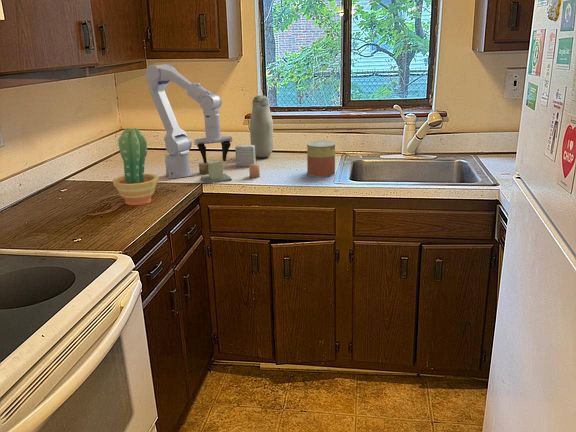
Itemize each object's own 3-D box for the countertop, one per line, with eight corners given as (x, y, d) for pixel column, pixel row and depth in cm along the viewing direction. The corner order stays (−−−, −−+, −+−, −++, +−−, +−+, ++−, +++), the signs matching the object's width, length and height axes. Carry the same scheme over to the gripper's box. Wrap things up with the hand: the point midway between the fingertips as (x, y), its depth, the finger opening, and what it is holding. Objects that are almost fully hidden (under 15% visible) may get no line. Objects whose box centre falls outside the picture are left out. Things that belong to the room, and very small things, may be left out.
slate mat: (206, 183, 203) (206, 181, 203) (200, 178, 211) (200, 176, 211) (231, 180, 207) (231, 178, 206) (225, 175, 214) (225, 173, 214)
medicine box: (255, 164, 232) (255, 144, 229) (254, 166, 228) (253, 146, 225) (238, 164, 233) (237, 144, 230) (236, 166, 228) (235, 146, 225)
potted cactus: (165, 194, 191) (158, 124, 182) (155, 207, 176) (147, 132, 168) (122, 195, 191) (113, 125, 183) (109, 208, 176) (98, 133, 168)
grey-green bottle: (247, 158, 244) (244, 96, 235) (261, 154, 251) (259, 93, 242) (263, 160, 238) (261, 97, 229) (277, 156, 246) (276, 94, 237)
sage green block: (211, 179, 206) (210, 164, 204) (209, 176, 210) (208, 162, 208) (223, 178, 207) (222, 163, 205) (220, 175, 211) (219, 160, 209)
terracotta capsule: (251, 178, 209) (251, 166, 207) (248, 176, 212) (247, 164, 211) (261, 177, 210) (260, 165, 209) (257, 175, 214) (257, 163, 212)
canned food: (339, 175, 211) (339, 145, 207) (312, 177, 208) (312, 147, 204) (329, 168, 221) (329, 140, 217) (303, 171, 218) (303, 142, 214)
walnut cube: (204, 175, 216) (203, 165, 215) (199, 173, 219) (198, 163, 218) (212, 173, 218) (212, 163, 217) (208, 171, 222) (207, 162, 220)
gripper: (196, 129, 196) (198, 165, 200) (233, 126, 201) (235, 161, 205) (191, 127, 202) (194, 161, 206) (228, 124, 207) (230, 158, 212)
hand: (214, 161), depth 206 cm, fingers open, 7 cm apart
